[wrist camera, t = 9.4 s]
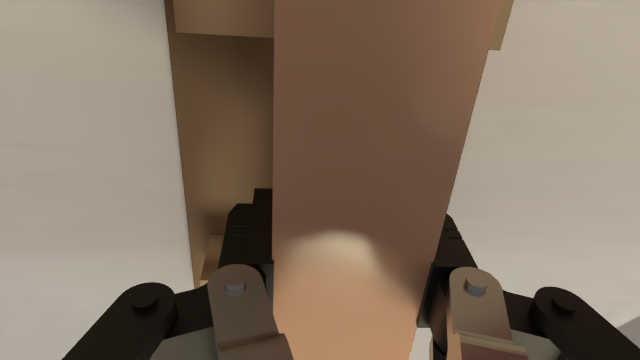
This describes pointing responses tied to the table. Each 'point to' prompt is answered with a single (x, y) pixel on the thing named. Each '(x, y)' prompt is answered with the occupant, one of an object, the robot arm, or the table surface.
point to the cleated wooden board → (228, 110)
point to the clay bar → (366, 163)
